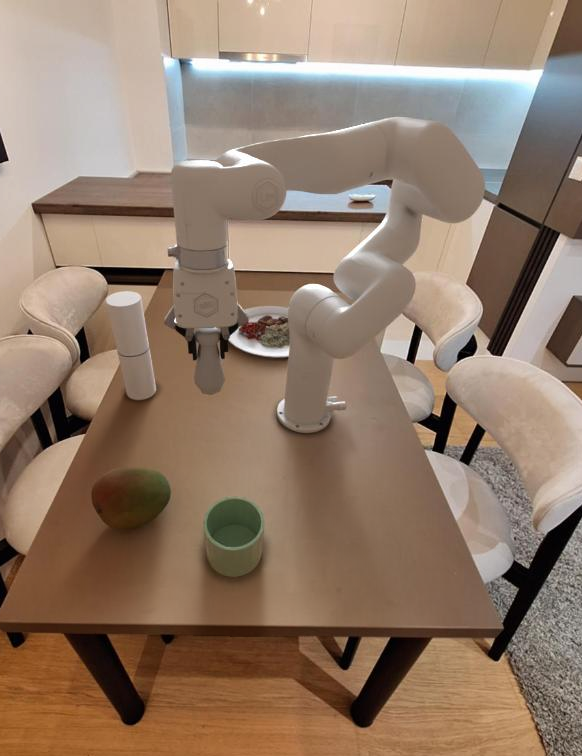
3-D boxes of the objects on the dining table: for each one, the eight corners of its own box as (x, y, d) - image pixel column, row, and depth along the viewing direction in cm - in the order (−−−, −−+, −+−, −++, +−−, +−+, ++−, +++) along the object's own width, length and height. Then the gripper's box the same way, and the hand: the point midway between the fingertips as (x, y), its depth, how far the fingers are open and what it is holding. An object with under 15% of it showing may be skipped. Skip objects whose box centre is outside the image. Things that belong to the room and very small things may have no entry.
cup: (257, 521, 71) (258, 493, 66) (266, 572, 64) (269, 545, 59) (204, 527, 70) (202, 500, 65) (208, 581, 63) (205, 554, 58)
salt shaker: (219, 400, 73) (217, 340, 65) (190, 395, 74) (185, 334, 66) (229, 381, 78) (228, 323, 70) (201, 376, 79) (197, 318, 71)
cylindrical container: (126, 402, 96) (105, 307, 80) (126, 384, 101) (106, 292, 86) (157, 397, 97) (141, 304, 82) (155, 380, 103) (140, 289, 87)
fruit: (89, 511, 72) (75, 475, 66) (149, 473, 79) (141, 437, 73) (122, 555, 66) (110, 520, 59) (184, 510, 73) (179, 474, 66)
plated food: (340, 350, 116) (342, 340, 114) (244, 370, 107) (244, 360, 105) (295, 305, 138) (296, 296, 136) (212, 319, 129) (211, 309, 127)
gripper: (143, 265, 56) (159, 370, 68) (261, 263, 58) (258, 365, 69) (148, 247, 62) (162, 346, 73) (255, 245, 64) (253, 342, 75)
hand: (208, 354), depth 71 cm, fingers closed on salt shaker, 4 cm apart
